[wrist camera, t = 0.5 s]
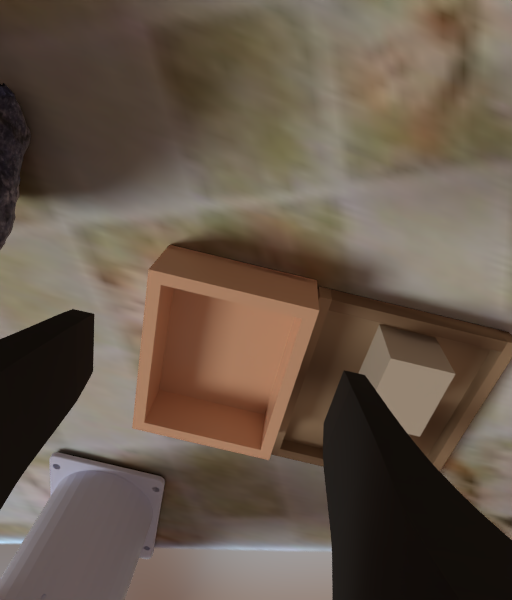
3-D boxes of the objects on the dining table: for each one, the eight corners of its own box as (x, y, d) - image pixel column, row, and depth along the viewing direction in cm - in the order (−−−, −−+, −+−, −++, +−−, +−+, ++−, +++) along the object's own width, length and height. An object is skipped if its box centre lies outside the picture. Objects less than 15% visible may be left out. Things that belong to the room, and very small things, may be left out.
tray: (422, 474, 26) (427, 491, 25) (269, 438, 26) (268, 453, 25) (508, 332, 21) (519, 345, 20) (318, 286, 21) (319, 297, 20)
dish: (272, 418, 25) (269, 460, 22) (151, 389, 25) (132, 428, 22) (316, 280, 21) (319, 310, 18) (169, 244, 20) (148, 269, 18)
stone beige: (405, 396, 23) (419, 436, 20) (354, 384, 23) (360, 422, 20) (435, 337, 21) (455, 374, 18) (379, 324, 21) (390, 358, 18)
